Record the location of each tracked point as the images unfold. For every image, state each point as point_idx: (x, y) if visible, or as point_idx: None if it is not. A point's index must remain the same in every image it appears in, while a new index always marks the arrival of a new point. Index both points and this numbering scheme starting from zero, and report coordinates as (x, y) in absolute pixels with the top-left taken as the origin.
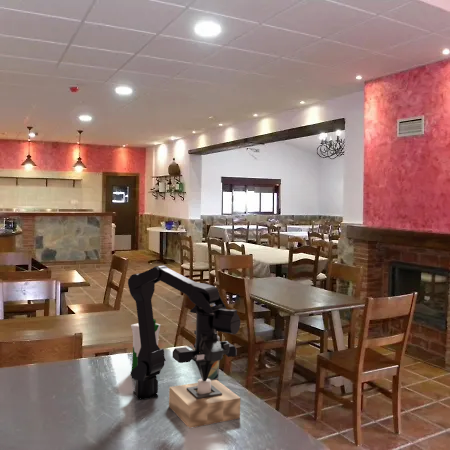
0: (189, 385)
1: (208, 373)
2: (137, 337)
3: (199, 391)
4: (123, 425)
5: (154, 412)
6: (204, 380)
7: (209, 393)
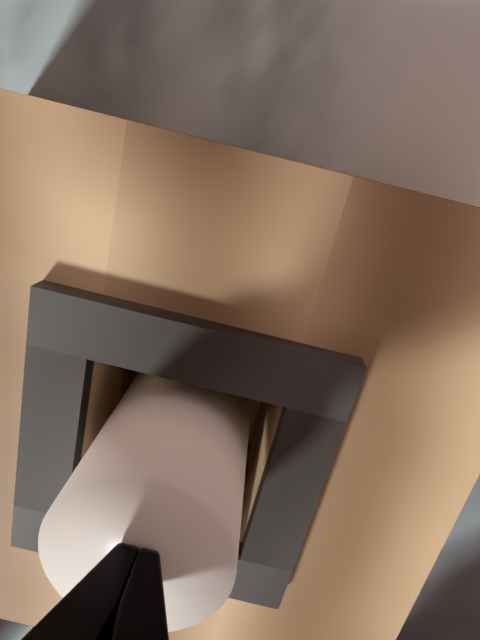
0: (193, 637)
1: (40, 637)
2: None
3: (243, 465)
4: None
5: (472, 543)
6: (147, 554)
7: (170, 368)
